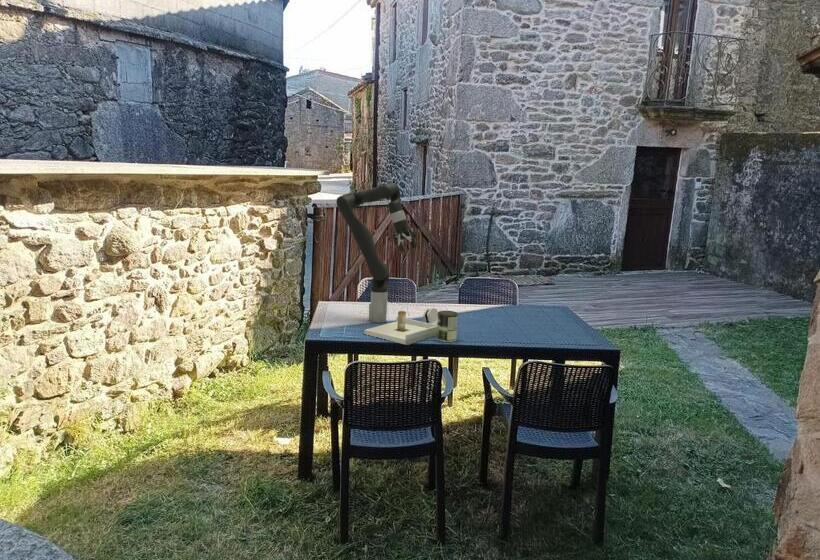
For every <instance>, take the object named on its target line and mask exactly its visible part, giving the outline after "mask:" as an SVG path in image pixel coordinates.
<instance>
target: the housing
mask: <svg viewBox="0 0 820 560" xmlns="http://www.w3.org/2000/svg"><path fill="white" fill-rule="evenodd" d="M397 326H398V316H397V317H396V321H393V322H389V323H385V324H381V325H378V326H373V327H370V328H367V329H364V332H363V334H366V335H365V336H368V335H370V336H369V337H372V336H374V337H373V338H376V337H379V338H378V339H380V338H382V339H381V340H384V339H386V340H385V341H389V340H390V341H389V342H393V341H394V342H393V343H398V344H401V345H405V346H409V345H412V344H415V343H418V342H421V341H420V340H422V341H424V340H423V339H425V340H427V339H426V338H428V339H430V337H431V338H433V336H434V337H437V327H438V325H435V324H430V323H425V322H424V321H420V320H415V319H410V318H406V319H405V332H401V331H397ZM417 341H418V342H417Z"/></svg>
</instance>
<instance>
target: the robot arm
mask: <svg viewBox="0 0 820 560" xmlns="http://www.w3.org/2000/svg"><path fill="white" fill-rule="evenodd" d="M387 198H388V199H389V198H390V202H388V204H387V208H388V211H389V213H390V214H389V215H390V219H391V221H392V225H393V228H394V231H395V233H393V234H392V238H393V241H394V245H395V246H398V248H399V251H400V252H401V253H403V252H405V247H404V244H403V243H404V241H405V240H408V241H409V242H410V246H411V249H412V250H414V249H416V247H417V246H416V242H415V240H416V239H418V238H417V235H416V232H415V229H414V227H411V228H409V223H408V220H407V217H406V214H405V212H404V207H403V206H402V200H401V199H402V197H401V189H400V187H399V185H398V184H397V183H395V182H391V183H385V184H382V185H379V186H377V187H373V188H372V187H371V188H369V189H366V190H364V191H359V192H350V193H345V194H343V195H339V196H338V197H337V199H336V206H337V209H338V211H339V212H340V213H341V215H342V217H343V219H344V221H345V222H346V224H347V226H348V228H349V229H350V233H352V236H353V238H354V241H355V243H356V244H357V246H358V248H359V250H360V252H361V254H362V256H363V257H364V260H365V262H366V265H367V267H368V271H369V273H370V275H371V277H372V282H371V283H372V284H371V287H370V303H369V304H368V307H369V308H368V321H369V322H372V323H376V324H377V323H380V324H381V323H382V324H383V323H387V317H388V316H387V315H388V314H387V313H388V290H389V281H390V280H389V279H390V269H389V266H388V265H387V263H385V262H382V261H381V260H380V258H379V255H378V253H377V250H376V245H375V241H374V238H373V235H372V234H371V232H370V230H369V228H368V226H366V225H365V224H364V223H363V222H362V221H360V220H359V219H358V218H357V216H356V215H355V213H354V212H353V210H355V209H356V208H357V207H359V206H361V205H364V204H365V203H366V204H367V203H375V202H378V201H381V200H384V199H387Z"/></svg>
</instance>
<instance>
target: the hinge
mask: <svg viewBox="0 0 820 560" xmlns="http://www.w3.org/2000/svg"><path fill="white" fill-rule="evenodd" d="M438 312H439V311H438V309H437V308H435V307H433V308H429V309H426V310H425V311H424V312H423V314H422V317H423V322H425V323H430V324H435V325H438Z"/></svg>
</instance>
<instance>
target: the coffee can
mask: <svg viewBox="0 0 820 560" xmlns="http://www.w3.org/2000/svg"><path fill="white" fill-rule="evenodd" d="M458 317H459V313H458V312H457V311H454V310H453V311H452V310H440V311H438V327H437V336H436V340H437V341H440V342H442V341H443V343H454V342H456V341H457V335H458V334H457V333H458V332H457V331H458Z"/></svg>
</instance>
